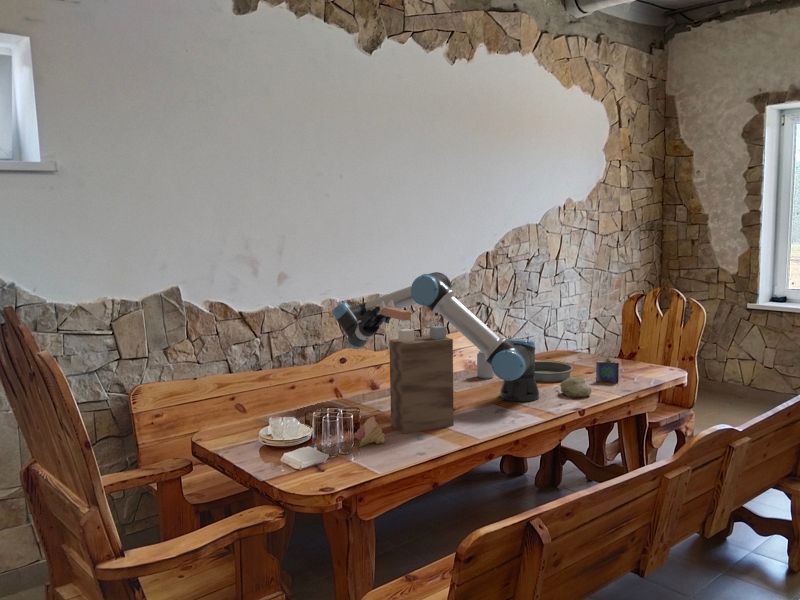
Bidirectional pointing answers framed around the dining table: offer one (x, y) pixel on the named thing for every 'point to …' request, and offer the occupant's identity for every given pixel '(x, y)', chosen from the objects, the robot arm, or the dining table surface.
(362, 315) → the robot arm
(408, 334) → the cream cube
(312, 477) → the dining table surface
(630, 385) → the dining table surface
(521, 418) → the dining table surface
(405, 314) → the terracotta stick
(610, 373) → the dark small block
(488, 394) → the dining table surface
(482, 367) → the can
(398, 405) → the walnut stand
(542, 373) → the cake pan
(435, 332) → the slate cube
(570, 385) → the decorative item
